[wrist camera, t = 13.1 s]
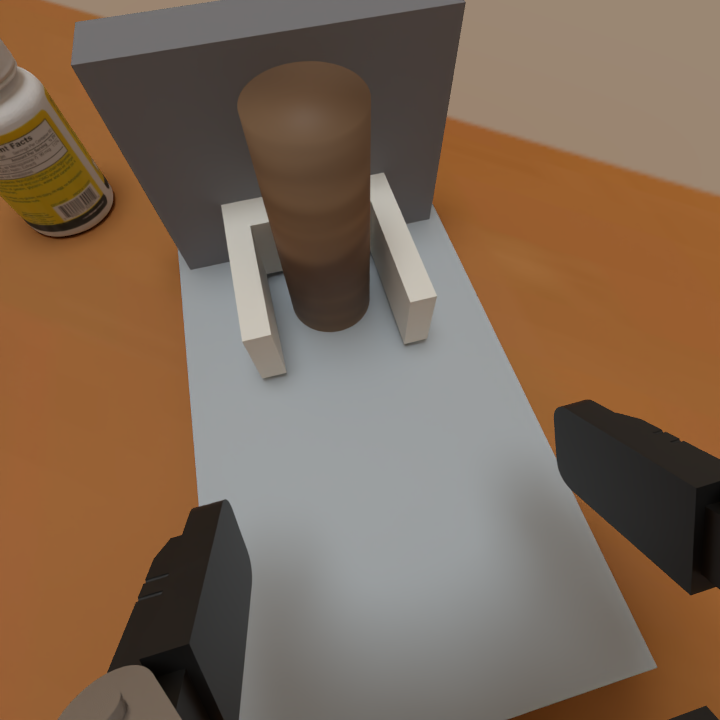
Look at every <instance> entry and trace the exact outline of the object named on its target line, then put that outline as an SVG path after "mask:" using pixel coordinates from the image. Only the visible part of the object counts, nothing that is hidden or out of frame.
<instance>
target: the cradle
mask: <svg viewBox="0 0 720 720" xmlns="http://www.w3.org/2000/svg"><path fill="white" fill-rule="evenodd" d="M221 208H222V214H223V221H224V227H225V234H226V240H227V247H228V253H229V260H230V266H231V273H232V279H233V285H234V292H235V298H236V305H237V311H238V318H239V324H240V331H241V337H242V342H243V344H244V346H245V348H246V350H247V351H248V353H249V355H250V357H251V359H252V361H253V363H254V364H255V366H256V368H257V370H258V372H259V374H260V375H261V377H262V379H263V378H267V377H271V376H275V375H279V374H284V373H287V372H286V367H285V362H284V358H283V353H282V348H281V343H280V338H279V333H278V328H277V323H276V318H275V313H274V308H273V303H272V299H271V294H270V289H269V284H268V279H267V274H270V273H274V272H279V271H283V270H282V266H281V263H280V259H279V255H278V252H277V248H276V245H275V241H274V238H273V234H272V231H271V227H270V224H269V220H268V216H267V213H266V209H265V206H264V202H263V199H262V197H259V198H254V199H249V200H244V201H239V202H234V203H229V204H224V205H221ZM370 251H371V254H372V256H373V259H374V262H375V265H376V268H377V270H378V273H379V276H380V279H381V281H382V284H383V287H384V290H385V292H386V295H387V298H388V301H389V303H390V306H391V309H392V312H393V315H394V317H395V320H396V323H397V326H398V328H399V331H400V334H401V337H402V339H403V342H404V344H407V343H411V342H415V341H419V340H423V339H427V336H428V332H429V328H430V324H431V320H432V315H433V311H434V307H435V303H436V299H437V295H436V292H435V290H434V288H433V285H432V283H431V281H430V278H429V276H428V274H427V271H426V269H425V267H424V265H423V262H422V260H421V258H420V255H419V253H418V251H417V248H416V246H415V244H414V241H413V239H412V237H411V234H410V232H409V230H408V227H407V225H406V223H405V220H404V218H403V216H402V213H401V211H400V209H399V206H398V204H397V202H396V199H395V197H394V195H393V192H392V190H391V188H390V186H389V183H388V181H387V179H386V176H385V174H384V173H379V174H374V175H370Z"/></svg>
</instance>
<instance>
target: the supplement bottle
mask: <svg viewBox="0 0 720 720" xmlns="http://www.w3.org/2000/svg"><path fill="white" fill-rule="evenodd" d="M0 196H1V197H2V198H3V199H4V200H5V201H6V202H7V203H8V204H9V205H10V206H11V207H12V208H13V209H14V210H15V211H16V212H17V213H18V214H19V215H20V216H21V217H22V218H23V219H24V220H25V221H26V222H27V223H28V224H29V225H30V226H31V227H32V228H33V229H34V230H36V231H37V232H39V233H42V234H44V235H48V236H56V237H60V236H68V235H73V234H77V233H80V232H83V231H86V230H88V229H90V228H92V227H93V226H95V225H96V224H98V223H99V222H100V221H101V220H102V219H103V218H104V217H105V216H106V215H107V214H108V212H109V210H110V209H111V206H112V203H113V191H112V188H111V186H110V184H109V183H108V181H107V180H106V178H105V177H104V175H103V174H102V172H101V171H100V169H99V168H98V166H97V165H96V164H95V162H94V161H93V159H92V158H91V156H90V155H89V153H88V152H87V150H86V149H85V147H84V146H83V144H82V143H81V141H80V140H79V138H78V137H77V135H76V134H75V132H74V131H73V130H72V128H71V127H70V125H69V124H68V122H67V121H66V119H65V118H64V116H63V115H62V113H61V111H60V110H59V108H58V107H57V106H56V104H55V103H54V101H53V99H52V98H51V96H50V95H49V93H48V92H47V90H46V89H45V87H44V86H43V84H42V83H41V82H40V81H39V80H38V79H37V78H36V77H35V76H34V75H33V74H31V73H30V72H28V71H27V70H25V69H23V68H20V67H18V66H17V63H16V61H15V59H14V58H13V56H12V54H11V53H10V51H9V50H8V49H7V47H6V46H5V44H4V43H3V42H2V40H1V39H0Z"/></svg>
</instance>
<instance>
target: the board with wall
mask: <svg viewBox="0 0 720 720" xmlns="http://www.w3.org/2000/svg"><path fill="white" fill-rule="evenodd" d="M464 8H465V1H464V0H220V1H214V2H207V3H201V4H194V5H187V6H180V7H174V8H167V9H160V10H154V11H148V12H141V13H134V14H127V15H121V16H114V17H107V18H101V19H94V20H87V21H81V22H75V31H74V41H73V51H72V61H71V66H72V68H73V70H74V71H75V73H76V75H77V76H78V78H79V80H80V82H81V83H82V85H83V87H84V88H85V90H86V92H87V94H88V95H89V97H90V99H91V100H92V102H93V104H94V106H95V107H96V109H97V111H98V112H99V114H100V116H101V118H102V119H103V121H104V123H105V124H106V126H107V128H108V130H109V131H110V133H111V135H112V136H113V138H114V140H115V142H116V143H117V145H118V147H119V148H120V150H121V152H122V154H123V155H124V157H125V159H126V160H127V162H128V164H129V166H130V167H131V169H132V171H133V172H134V174H135V176H136V178H137V179H138V181H139V183H140V184H141V186H142V188H143V190H144V191H145V193H146V195H147V196H148V198H149V200H150V202H151V203H152V205H153V207H154V208H155V210H156V212H157V214H158V215H159V217H160V219H161V220H162V222H163V224H164V226H165V227H166V229H167V231H168V232H169V234H170V236H171V238H172V239H173V241H174V243H175V244H176V246H177V248H178V255H179V268H180V280H181V292H182V304H183V317H184V329H185V341H186V353H187V366H188V378H189V390H190V402H191V415H192V427H193V439H194V451H195V464H196V476H197V488H198V500H199V506H203V505H206V504H210V503H214V502H217V501H221V500H224V499H226V500H228V501H229V503H230V504H231V507H232V509H233V512H234V515H235V517H236V520H237V523H238V526H239V529H240V531H241V534H242V537H243V540H244V542H245V545H246V548H247V551H248V554H249V557H250V562H251V568H252V589H251V600H250V610H249V620H248V631H247V641H246V651H245V662H244V672H243V682H242V693H241V703H240V713H239V720H507V719H510V718H513V717H516V716H519V715H522V714H525V713H528V712H531V711H533V710H536V709H539V708H542V707H545V706H548V705H551V704H554V703H557V702H559V701H562V700H565V699H568V698H571V697H574V696H577V695H580V694H583V693H585V692H588V691H591V690H594V689H597V688H600V687H603V686H606V685H609V684H611V683H614V682H617V681H620V680H623V679H626V678H629V677H632V676H635V675H637V674H640V673H643V672H646V671H649V670H652V669H655V668H657V666H656V664H655V662H654V659H653V657H652V655H651V653H650V651H649V649H648V647H647V645H646V643H645V641H644V639H643V637H642V635H641V633H640V631H639V629H638V626H637V624H636V622H635V620H634V618H633V616H632V614H631V612H630V610H629V608H628V606H627V604H626V602H625V600H624V598H623V596H622V594H621V591H620V589H619V587H618V585H617V583H616V581H615V579H614V577H613V575H612V573H611V571H610V569H609V567H608V565H607V563H606V561H605V558H604V556H603V554H602V552H601V550H600V548H599V546H598V544H597V542H596V540H595V538H594V536H593V534H592V532H591V530H590V528H589V525H588V523H587V521H586V519H585V517H584V515H583V513H582V511H581V509H580V507H579V505H578V503H577V501H576V499H575V497H574V495H573V493H572V490H571V489H570V488H569V487H568V486H567V485H566V483H565V482H564V480H563V479H562V477H561V475H560V472H559V469H558V466H557V460H556V457H555V455H554V453H553V451H552V449H551V447H550V445H549V443H548V441H547V439H546V437H545V435H544V433H543V431H542V429H541V427H540V425H539V422H538V420H537V418H536V416H535V414H534V412H533V410H532V408H531V406H530V404H529V402H528V400H527V398H526V396H525V394H524V392H523V389H522V387H521V385H520V383H519V381H518V379H517V377H516V375H515V373H514V371H513V369H512V367H511V365H510V363H509V361H508V359H507V356H506V354H505V352H504V350H503V348H502V346H501V344H500V342H499V340H498V338H497V336H496V334H495V332H494V330H493V328H492V326H491V324H490V321H489V319H488V317H487V315H486V313H485V311H484V309H483V307H482V305H481V303H480V301H479V299H478V297H477V295H476V293H475V291H474V288H473V286H472V284H471V282H470V280H469V278H468V276H467V274H466V272H465V270H464V268H463V266H462V264H461V262H460V260H459V258H458V255H457V253H456V251H455V249H454V247H453V245H452V243H451V241H450V239H449V237H448V235H447V233H446V231H445V229H444V227H443V225H442V223H441V220H440V218H439V216H438V214H437V212H436V210H435V208H434V206H433V204H432V201H433V195H434V189H435V183H436V177H437V171H438V165H439V159H440V153H441V147H442V141H443V135H444V129H445V123H446V117H447V111H448V105H449V99H450V93H451V86H452V81H453V75H454V68H455V63H456V57H457V51H458V45H459V39H460V32H461V27H462V21H463V14H464ZM302 61H318V62H327V63H332V64H336V65H339V66H342V67H344V68H347V69H349V70H351V71H353V72H354V73H356V74H357V75H358V76H360V77H361V78H362V79H363V80H364V81H365V83H366V84H367V86H368V88H369V90H370V94H371V162H370V175H374V174H379V173H384V174H385V176H386V179H387V181H388V183H389V186H390V188H391V190H392V192H393V195H394V197H395V199H396V202H397V204H398V206H399V209H400V211H401V213H402V216H403V218H404V220H405V223H406V225H407V227H408V230H409V232H410V234H411V237H412V239H413V241H414V244H415V246H416V248H417V251H418V253H419V255H420V258H421V260H422V262H423V265H424V267H425V269H426V271H427V274H428V276H429V278H430V281H431V283H432V285H433V288H434V290H435V292H436V295H437V299H436V303H435V307H434V311H433V315H432V320H431V324H430V328H429V332H428V336H427V339H423V340H419V341H415V342H411V343H407V344H404V342H403V339H402V337H401V334H400V331H399V328H398V326H397V323H396V320H395V317H394V315H393V312H392V309H391V306H390V303H389V301H388V298H387V295H386V292H385V290H384V287H383V284H382V281H381V279H380V276H379V273H378V270H377V268H376V265H375V262H374V259H373V256H372V254H371V251H370V301H369V306H368V309H367V311H366V313H365V315H364V316H363V318H362V319H361V320H360V321H359V322H357V323H356V324H355V325H353V326H352V327H350V328H347V329H345V330H342V331H337V332H322V331H317V330H314V329H312V328H310V327H308V326H306V325H305V324H303V323H302V322H301V321H300V320H299V318H298V317H297V316H296V314H295V312H294V309H293V305H292V302H291V298H290V295H289V291H288V287H287V284H286V280H285V277H284V273H283V271H279V272H274V273H270V274H267V279H268V284H269V289H270V294H271V299H272V303H273V308H274V313H275V318H276V323H277V328H278V333H279V338H280V343H281V348H282V353H283V358H284V362H285V367H286V372H287V373H284V374H279V375H275V376H271V377H267V378H263V379H262V377H261V375H260V374H259V372H258V370H257V368H256V366H255V364H254V363H253V361H252V359H251V357H250V355H249V353H248V351H247V350H246V348H245V346H244V344H243V342H242V337H241V331H240V324H239V318H238V311H237V305H236V298H235V292H234V285H233V279H232V273H231V266H230V260H229V253H228V247H227V240H226V234H225V227H224V221H223V214H222V208H221V205H224V204H229V203H234V202H239V201H244V200H249V199H254V198H259V197H262V195H261V192H260V188H259V184H258V181H257V177H256V174H255V170H254V167H253V163H252V160H251V156H250V152H249V149H248V145H247V142H246V138H245V135H244V131H243V128H242V124H241V121H240V117H239V113H238V109H237V102H238V98H239V95H240V93H241V91H242V90H243V88H244V87H245V86H246V85H247V83H248V82H250V81H251V80H252V79H253V78H254V77H256V76H257V75H259V74H261V73H262V72H264V71H266V70H269V69H271V68H274V67H276V66H279V65H283V64H287V63H293V62H302Z"/></svg>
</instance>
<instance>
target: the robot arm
mask: <svg viewBox="0 0 720 720" xmlns="http://www.w3.org/2000/svg"><path fill="white" fill-rule="evenodd" d="M554 427H555V442H556V456H557V466H558V469H559V472H560V475H561V477H562V479H563V480H564V482H565V483H566V485H567V486H568V487H569V488H570V489H571V490H572V491H573V492H574V493H575V494H577V495H578V496H579V497H580V498H581V499H582V500H583V501H584V502H586V503H587V504H588V505H589V506H590V507H591V508H592V509H593V510H595V511H596V512H597V513H598V514H599V515H600V516H601V517H603V518H604V519H605V520H606V521H607V522H608V523H609V524H610V525H612V526H613V527H614V528H615V529H616V530H617V531H618V532H620V533H621V534H622V535H623V536H624V537H625V538H626V539H627V540H629V541H630V542H631V543H632V544H633V545H634V546H635V547H637V548H638V549H639V550H640V551H641V552H642V553H643V554H644V555H646V556H647V557H648V558H649V559H650V560H651V561H652V562H654V563H655V564H656V565H657V566H658V567H659V568H660V569H661V570H663V571H664V572H665V573H666V574H667V575H668V576H669V577H671V578H672V579H673V580H674V581H675V582H676V583H677V584H678V585H680V586H681V587H682V588H683V589H684V590H685V591H686V592H688V593H689V594H690V595H693V594H696V593H699V592H702V591H705V590H708V589H711V588H714V587H717V588H719V589H720V459H718V458H716V457H714V456H712V455H710V454H708V453H706V452H704V451H702V450H700V449H698V448H696V447H694V446H692V445H691V444H689V443H687V442H685V441H682V442H681V441H680V440H679V438H677V437H675V436H673V435H671V434H669V433H667V432H664V433H663V432H662V430H661V429H659V428H657V427H655V426H653V425H651V424H649V423H647V422H646V421H644V420H642V419H638V418H634V417H630V416H627V415H623V414H619V413H614V412H613V411H611V410H609V409H607V408H605V407H603V406H601V405H599V404H598V403H596V402H594V401H592V400H583V401H580V402H576V403H572V404H569V405H565V406H562V407H558V408H557V409H556V410H555V413H554ZM145 580H146V583H145V584H143V587H142V589H141V591H140V594H139V596H138V602H136V604H135V606H134V609H133V611H132V613H131V616H130V618H129V621H128V623H127V626H126V628H125V630H124V633H123V635H122V638H121V640H120V643H119V645H118V648H117V650H116V652H115V655H114V657H113V660H112V662H111V665H110V667H109V669H108V672H107V674H105V675H103V676H102V677H100V678H99V679H97V680H96V681H94V682H93V683H92V684H90V685H89V686H88V687H86V688H85V689H84V690H83V691H82V692H81V693H80V694H79V695H78V696H77V697H76V698H75V699H74V700H73V701H72V702H71V703H70V704H69V705H68V706H67V708H66V709H65V710H64V711H63V713H62V714H61V716H60V717H59V718H58V720H239V713H240V703H241V693H242V682H243V672H244V662H245V651H246V641H247V631H248V620H249V610H250V600H251V589H252V568H251V562H250V557H249V554H248V551H247V548H246V545H245V542H244V540H243V537H242V534H241V531H240V529H239V526H238V523H237V520H236V517H235V515H234V512H233V509H232V507H231V504H230V503H229V501H228V500H226V499H224V500H221V501H217V502H214V503H210V504H206V505H203V506H199V507H196V508H193V509H192V510H191V511H190V514H189V517H188V519H187V522H186V525H185V528H184V531H183V534H182V535H181V536H177V537H174V538H171V539H170V540H169V541H168V542H167V544H166V545H165V546H164V547H163V548H162V550H161V551H160V552H159V553H158V554H157V556H156V557H155V558H154V560H153V562H152V565H151V567H150V569H149V572H148V574H147V577H146V579H145ZM669 720H719V719H718V718H717V717H716V716H715V715H714V714H713V713H712V712H711V711H710V709H709V708H708V707H707V706H704V707H701V708H699V709H696V710H693V711H691V712H688V713H685V714H682V715H680V716H677V717H674V718H672V719H669Z"/></svg>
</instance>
